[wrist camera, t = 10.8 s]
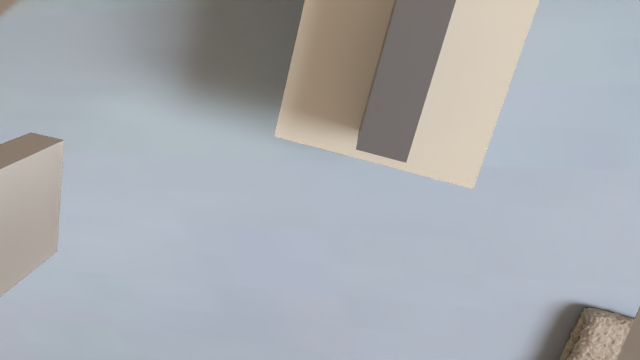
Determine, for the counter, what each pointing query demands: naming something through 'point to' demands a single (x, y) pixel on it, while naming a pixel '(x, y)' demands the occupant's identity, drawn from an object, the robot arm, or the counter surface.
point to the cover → (404, 80)
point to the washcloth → (597, 336)
